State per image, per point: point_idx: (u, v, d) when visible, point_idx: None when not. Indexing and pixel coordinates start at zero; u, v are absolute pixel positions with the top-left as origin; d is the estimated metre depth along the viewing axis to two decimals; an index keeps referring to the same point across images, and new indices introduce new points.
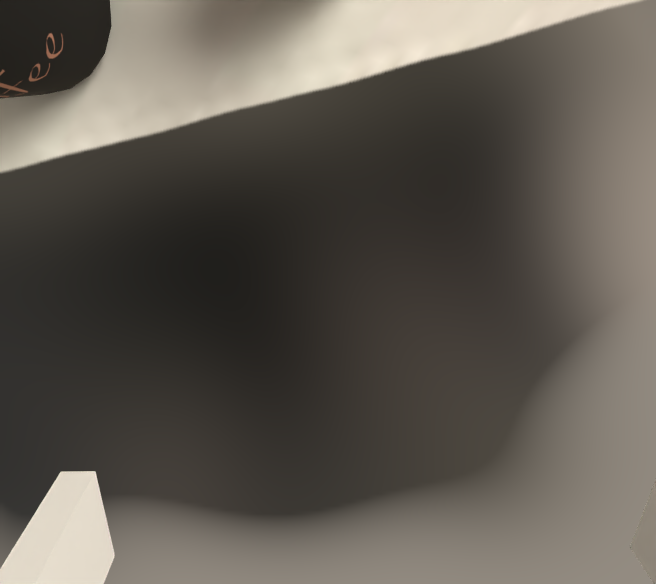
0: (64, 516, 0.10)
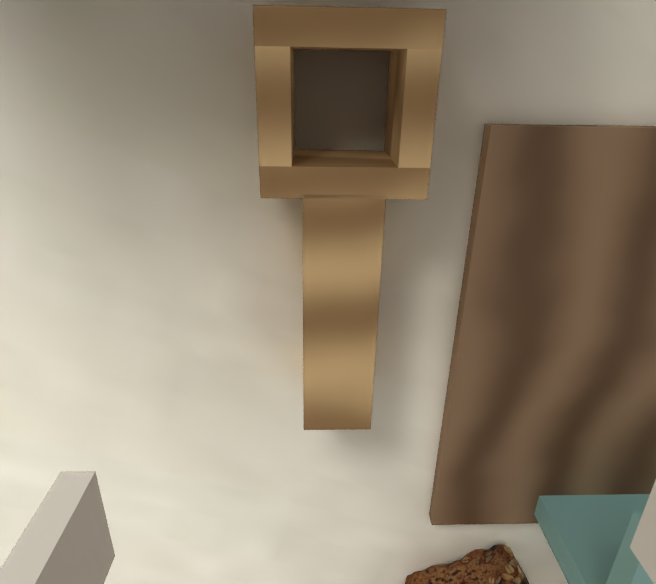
0: (64, 516, 0.10)
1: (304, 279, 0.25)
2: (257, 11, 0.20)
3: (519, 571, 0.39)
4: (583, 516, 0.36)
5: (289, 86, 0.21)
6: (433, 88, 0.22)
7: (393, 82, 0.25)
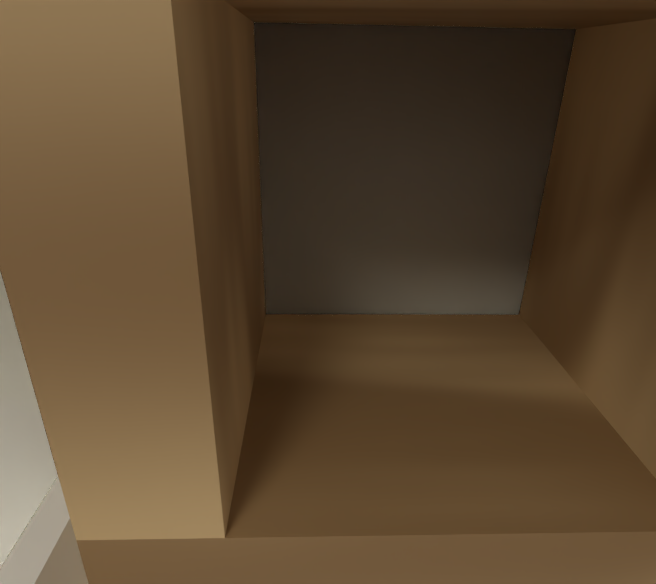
0: (63, 517, 0.10)
1: None
2: None
3: None
4: None
5: (184, 211, 0.04)
6: None
7: (615, 139, 0.07)
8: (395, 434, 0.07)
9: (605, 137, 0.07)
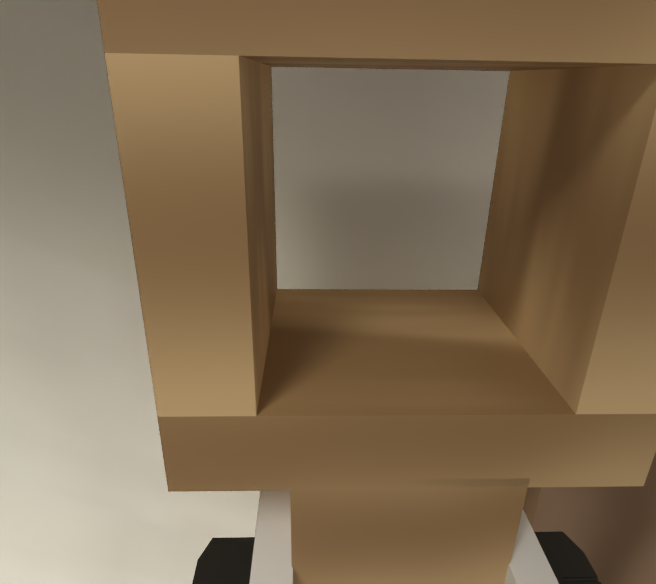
0: None
1: None
2: None
3: None
4: None
5: (241, 192, 0.06)
6: None
7: (532, 152, 0.09)
8: (374, 363, 0.09)
9: (526, 150, 0.10)
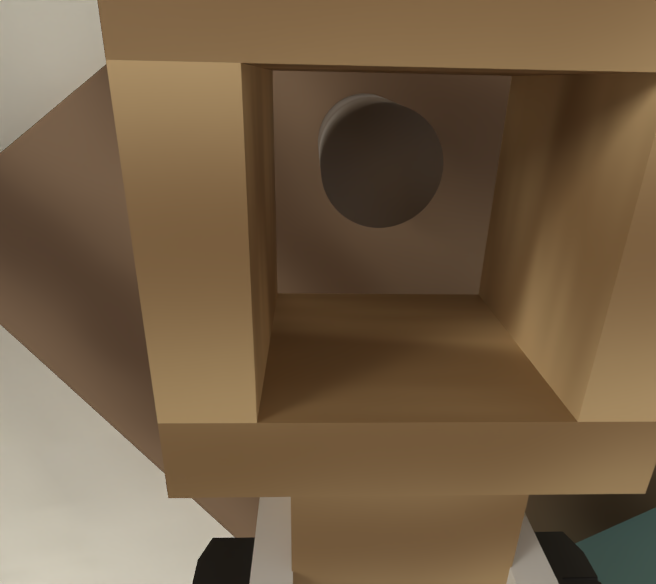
0: None
1: None
2: None
3: None
4: None
5: (243, 200, 0.06)
6: None
7: (533, 157, 0.09)
8: (375, 368, 0.09)
9: (528, 156, 0.10)
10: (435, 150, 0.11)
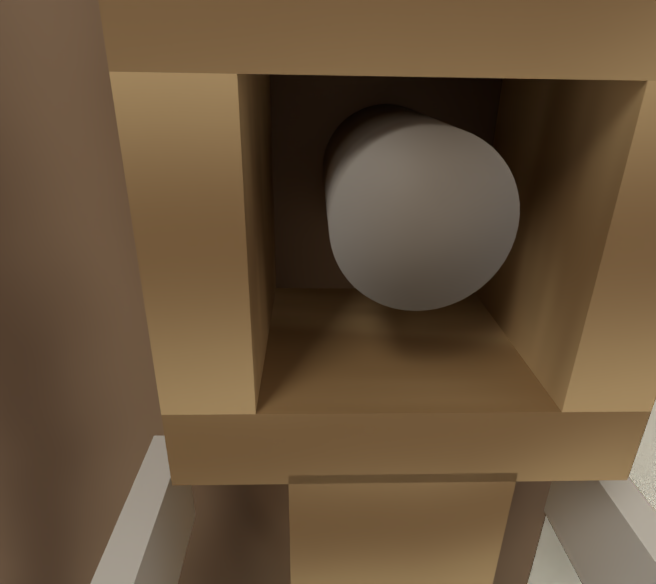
0: (166, 472, 0.11)
1: None
2: None
3: None
4: None
5: (240, 203, 0.06)
6: None
7: (523, 156, 0.10)
8: (369, 362, 0.09)
9: (518, 155, 0.10)
10: (502, 247, 0.07)
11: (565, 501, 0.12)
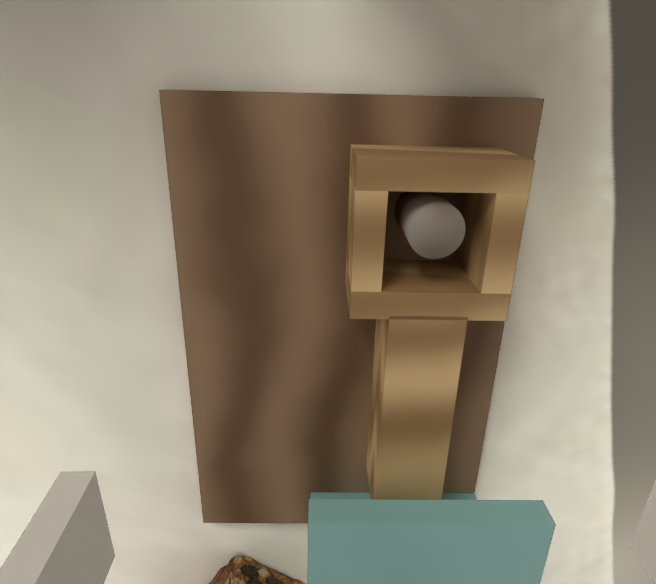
0: (64, 516, 0.10)
1: (385, 389, 0.27)
2: (360, 162, 0.22)
3: (231, 583, 0.37)
4: None
5: (385, 224, 0.23)
6: (518, 226, 0.23)
7: (472, 207, 0.26)
8: (415, 281, 0.26)
9: (471, 206, 0.26)
10: (460, 238, 0.24)
11: None
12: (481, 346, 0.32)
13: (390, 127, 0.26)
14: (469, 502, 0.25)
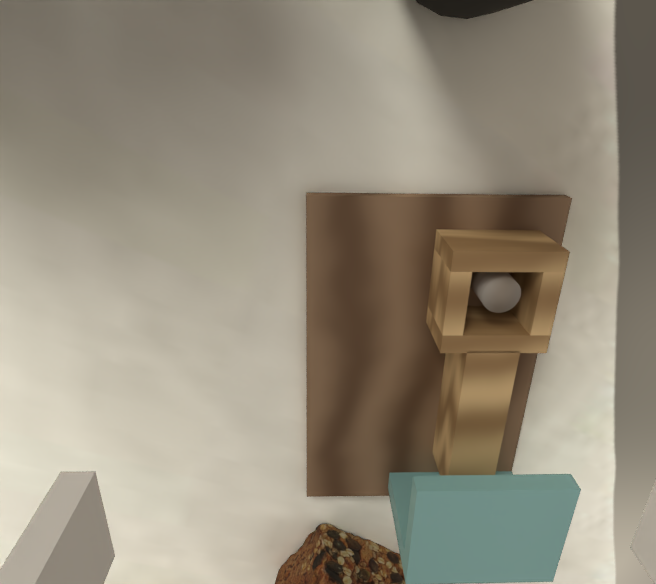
0: (64, 516, 0.10)
1: (460, 399, 0.38)
2: (455, 254, 0.33)
3: (322, 543, 0.49)
4: None
5: (468, 292, 0.35)
6: (557, 292, 0.35)
7: (521, 273, 0.38)
8: (483, 325, 0.38)
9: (520, 272, 0.38)
10: (517, 299, 0.36)
11: None
12: (521, 364, 0.43)
13: (464, 217, 0.38)
14: (521, 476, 0.37)
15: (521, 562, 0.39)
